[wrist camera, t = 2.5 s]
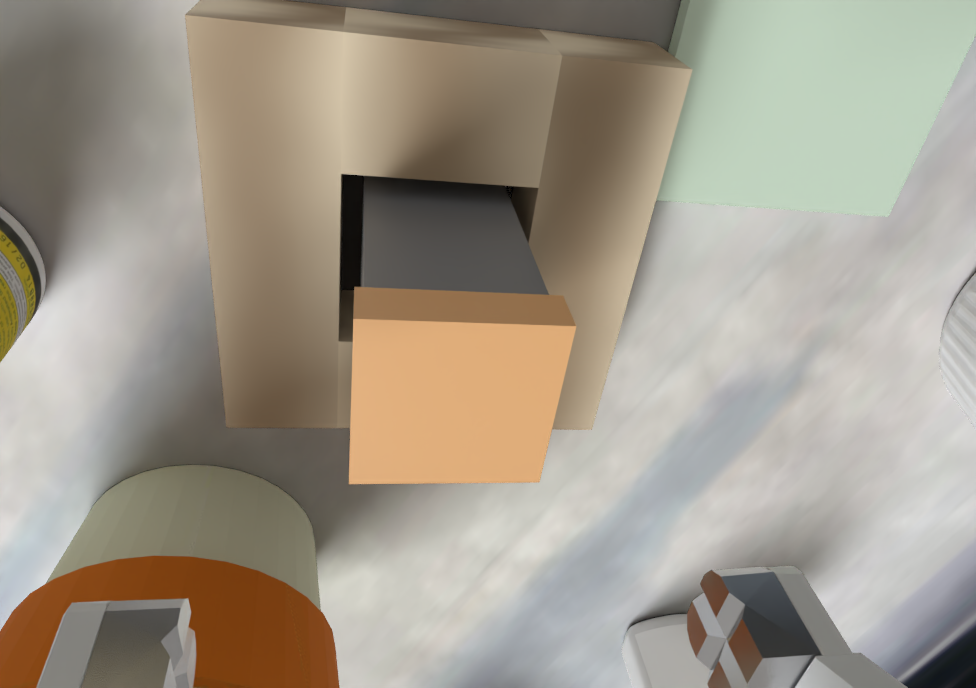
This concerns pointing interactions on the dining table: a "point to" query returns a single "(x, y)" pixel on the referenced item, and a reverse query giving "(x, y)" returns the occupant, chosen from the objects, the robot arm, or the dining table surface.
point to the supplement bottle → (18, 280)
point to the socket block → (411, 175)
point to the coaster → (810, 99)
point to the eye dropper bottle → (662, 655)
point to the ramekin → (961, 350)
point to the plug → (451, 339)
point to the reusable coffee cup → (193, 578)
